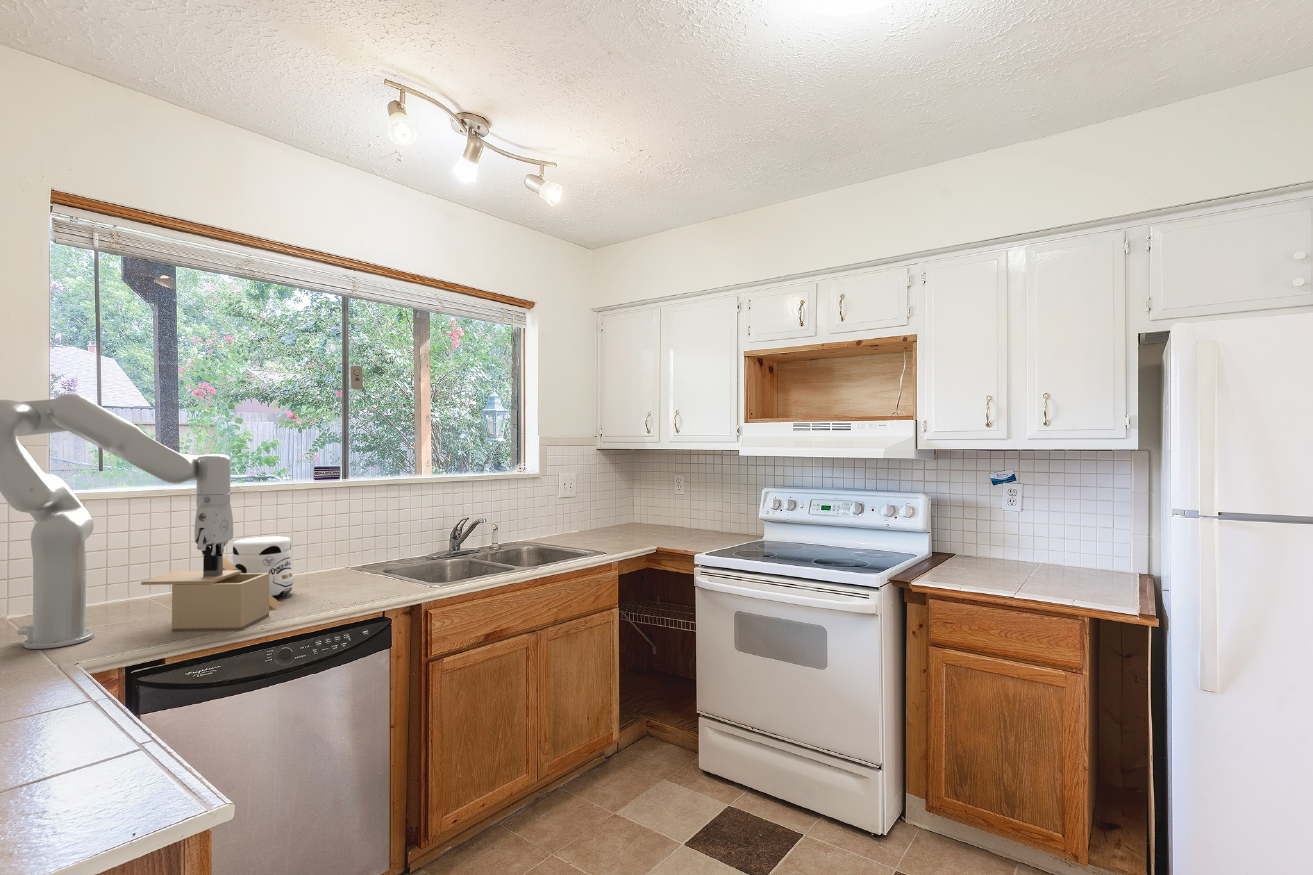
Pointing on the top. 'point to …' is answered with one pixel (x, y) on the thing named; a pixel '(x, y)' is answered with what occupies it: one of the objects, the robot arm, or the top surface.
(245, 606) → the carton
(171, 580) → the carton lid
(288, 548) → the milk container
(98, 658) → the top surface
